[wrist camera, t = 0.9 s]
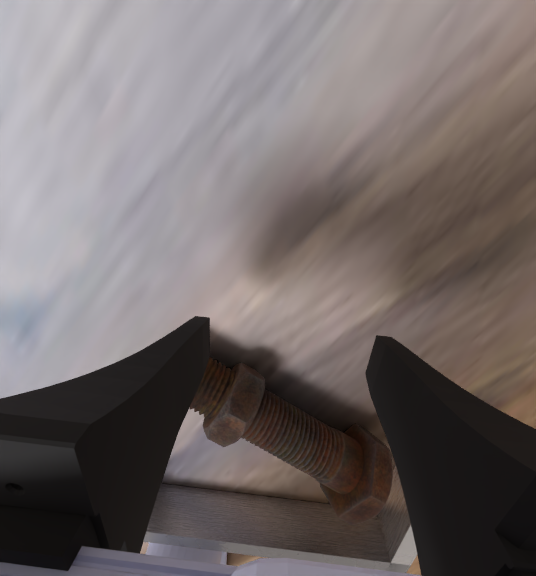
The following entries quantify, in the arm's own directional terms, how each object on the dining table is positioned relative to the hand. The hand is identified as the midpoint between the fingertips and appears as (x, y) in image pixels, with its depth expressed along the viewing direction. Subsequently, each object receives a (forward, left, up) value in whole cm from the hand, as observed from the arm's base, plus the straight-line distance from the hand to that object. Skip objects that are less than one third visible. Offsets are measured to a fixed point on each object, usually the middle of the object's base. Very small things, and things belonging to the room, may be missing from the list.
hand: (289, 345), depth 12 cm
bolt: (-8, 0, -5) cm, 10 cm away
